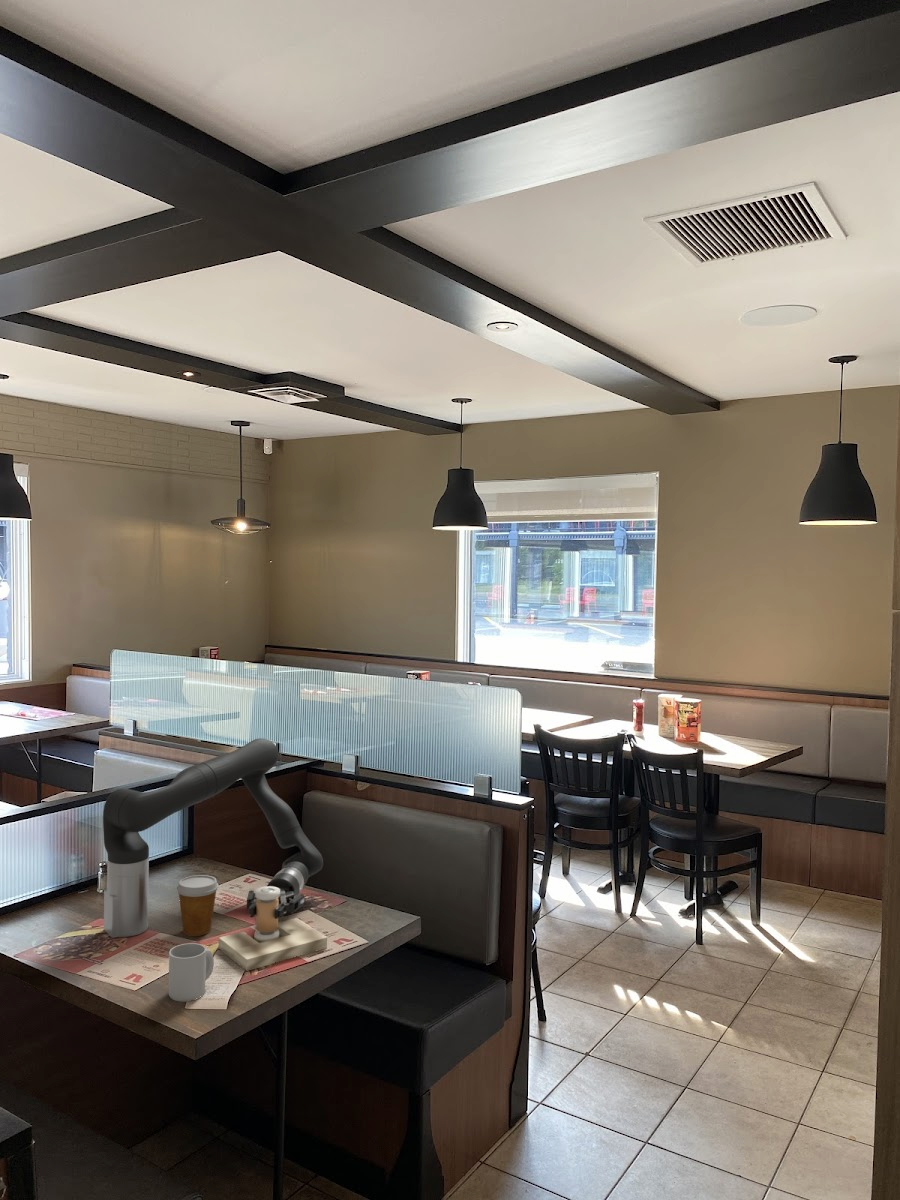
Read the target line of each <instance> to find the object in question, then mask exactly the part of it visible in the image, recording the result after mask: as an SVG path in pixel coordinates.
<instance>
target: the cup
mask: <svg viewBox="0 0 900 1200" xmlns="http://www.w3.org/2000/svg"><path fill="white" fill-rule="evenodd" d="M214 964H215V960H214V955H213V953H212V950H210V949H209V948H207V947H206V946H204V945H203V944H201V943H194V942H190V943H187V942H186V943H183V944H182V943H181V944H178V945H175V946H173V947H172V948H170V950H169V953H168V996H169V997H170V999H171V1000H173V1001H176V1002H180V1003H181V1002H182V1003H186V1002H192V1001H195V1000H194V999H196V998H198V999H200V998H201V997H202V996H203V995H204V993H205V992H206V981H207V980H208V979H209V978H210V976H211V975H212V973H213V970H214V966H215V965H214ZM200 996H201V997H200ZM199 997H200V998H199ZM191 1000H192V1001H191ZM196 1000H197V999H196Z"/></svg>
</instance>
